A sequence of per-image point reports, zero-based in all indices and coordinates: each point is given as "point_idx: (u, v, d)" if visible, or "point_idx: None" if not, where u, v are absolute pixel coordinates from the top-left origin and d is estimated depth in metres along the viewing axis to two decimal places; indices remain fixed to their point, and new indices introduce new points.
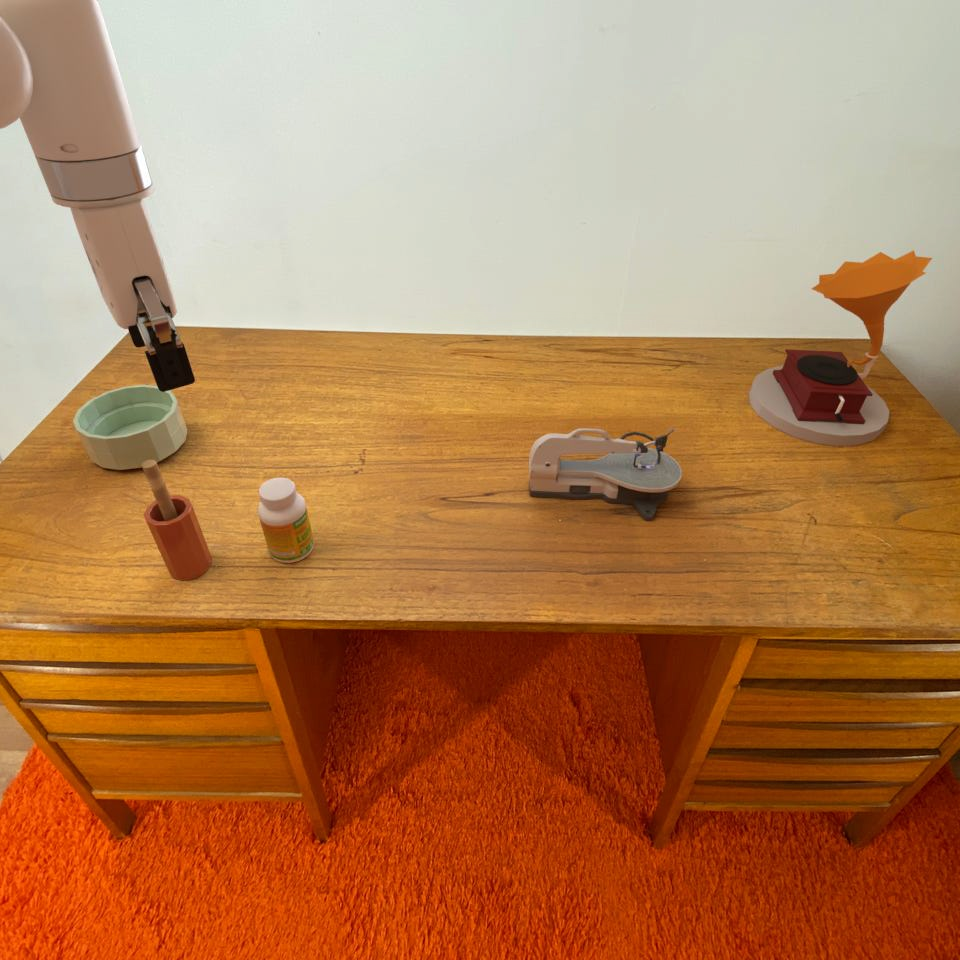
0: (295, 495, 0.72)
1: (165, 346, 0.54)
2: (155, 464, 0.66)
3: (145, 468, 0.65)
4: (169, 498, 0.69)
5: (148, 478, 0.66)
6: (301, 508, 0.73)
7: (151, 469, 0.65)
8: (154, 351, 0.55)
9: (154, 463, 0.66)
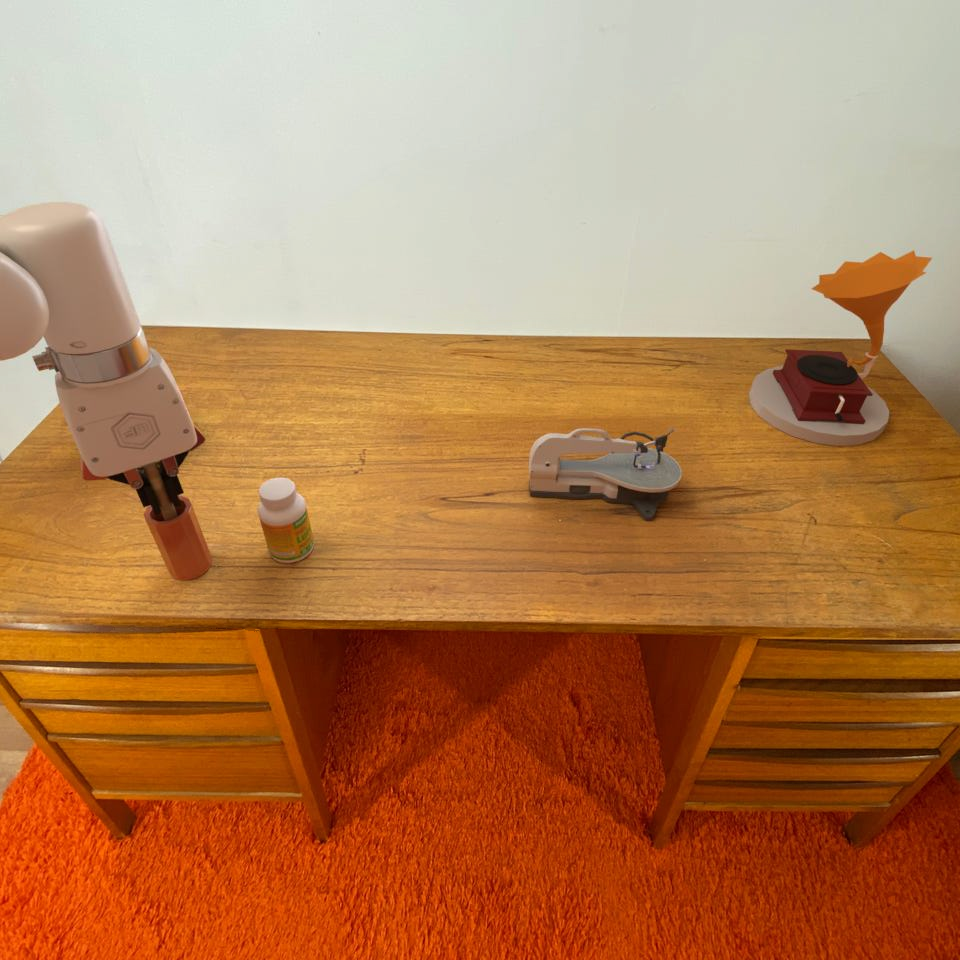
0: (295, 495, 0.72)
1: None
2: (155, 464, 0.66)
3: (145, 468, 0.65)
4: (169, 498, 0.69)
5: (148, 478, 0.66)
6: (301, 508, 0.73)
7: (151, 469, 0.65)
8: None
9: (154, 463, 0.66)
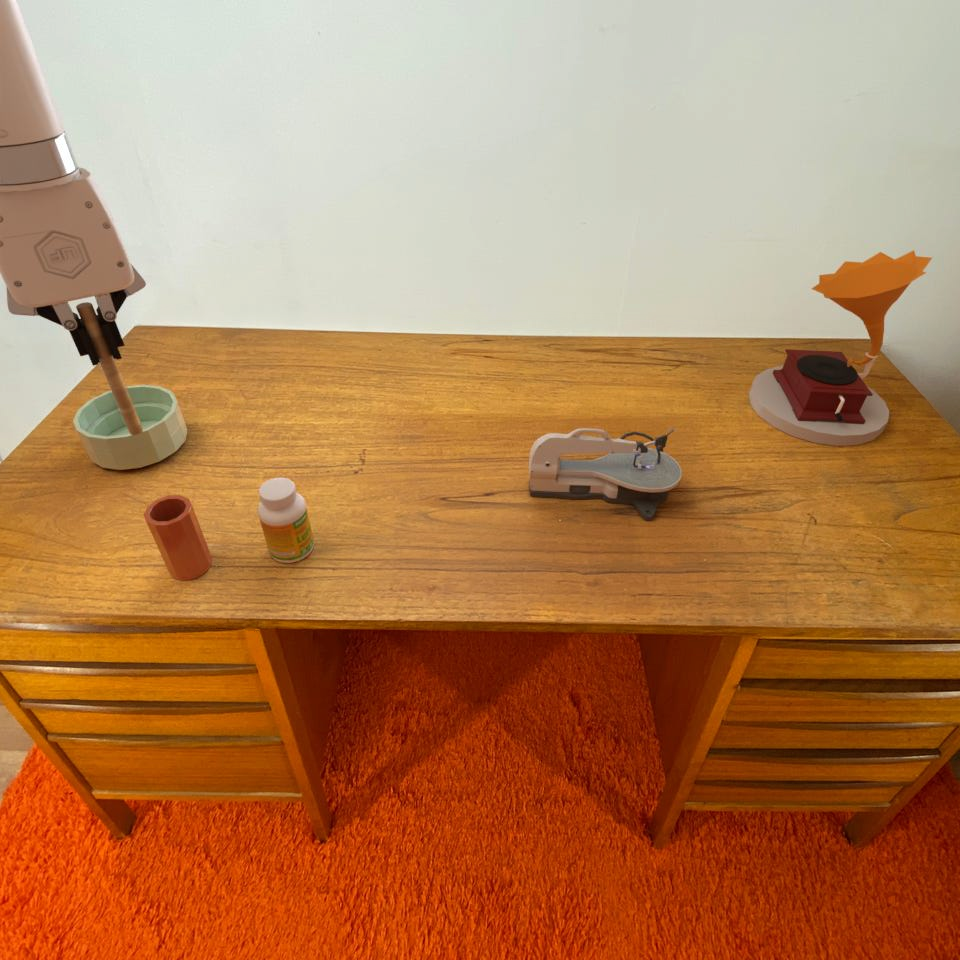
0: (295, 495, 0.72)
1: None
2: (91, 306, 0.61)
3: (79, 309, 0.61)
4: (109, 350, 0.64)
5: (84, 322, 0.62)
6: (301, 508, 0.73)
7: (86, 311, 0.61)
8: (115, 313, 0.62)
9: (89, 305, 0.61)
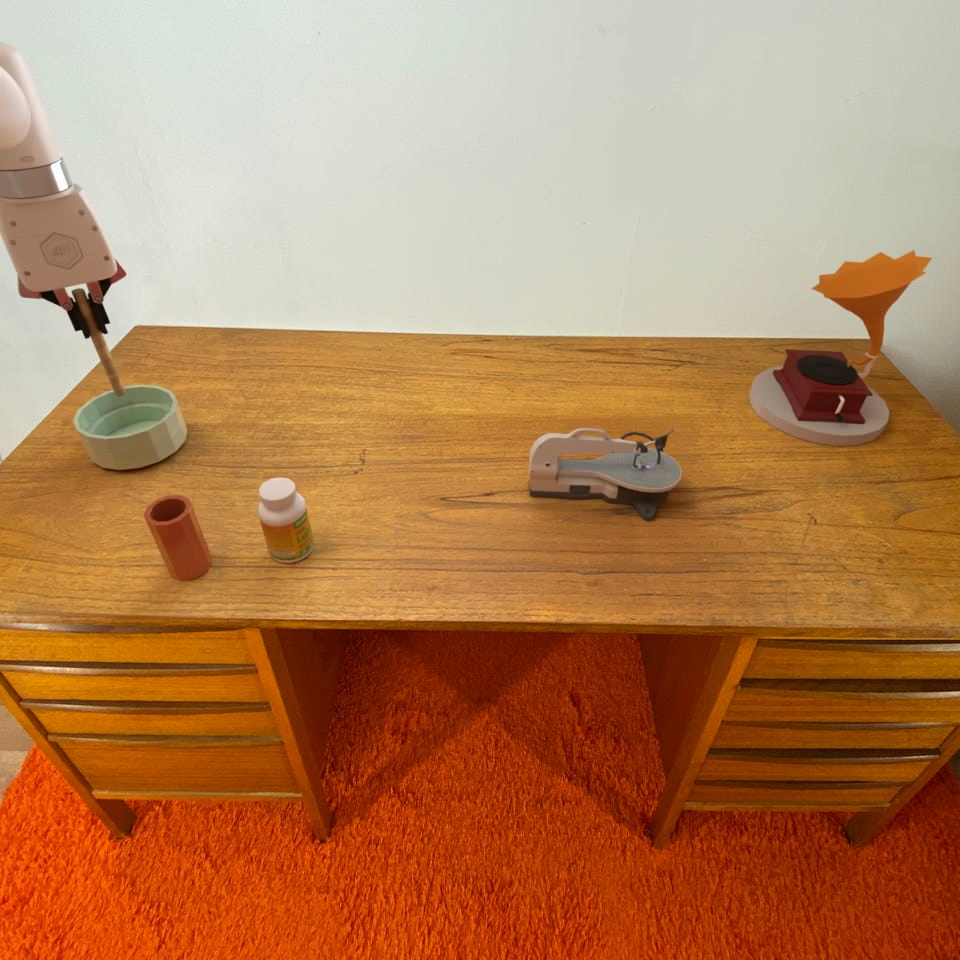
0: (295, 495, 0.72)
1: None
2: (83, 291, 0.78)
3: (74, 294, 0.78)
4: (97, 326, 0.81)
5: (77, 304, 0.79)
6: (301, 508, 0.73)
7: (80, 295, 0.78)
8: (103, 297, 0.79)
9: (82, 290, 0.78)
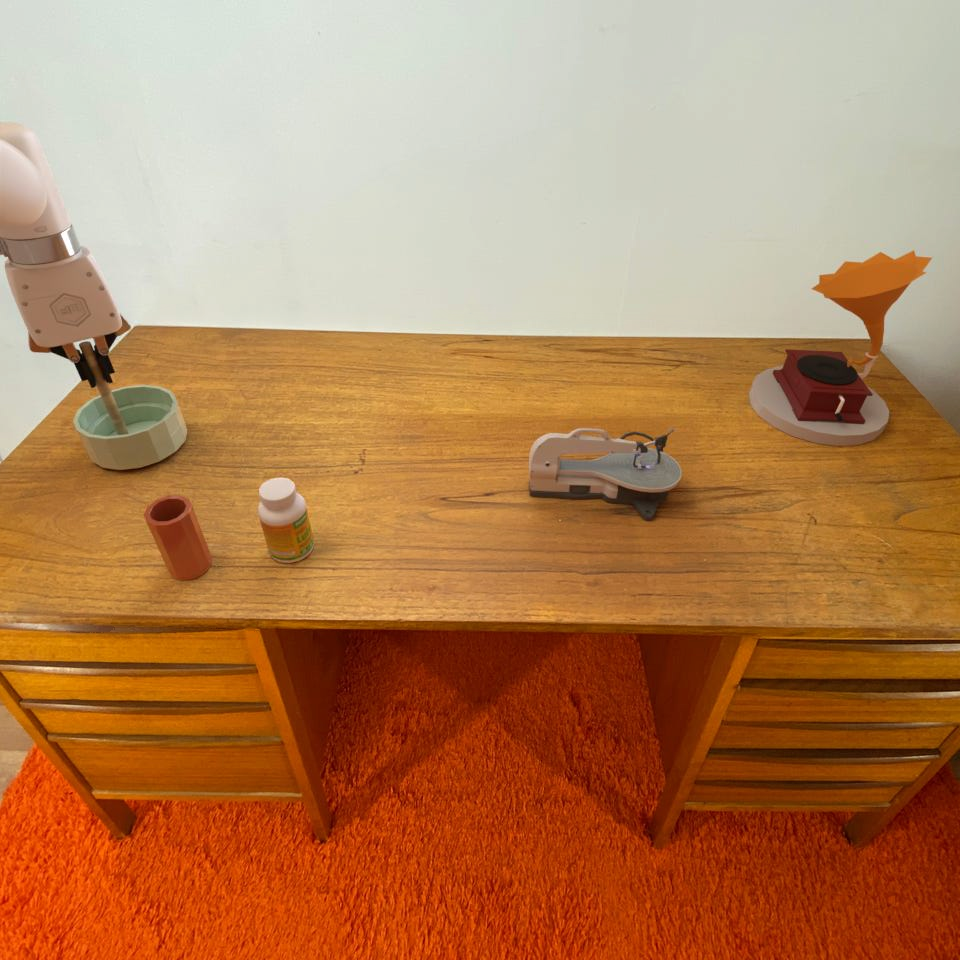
0: (295, 495, 0.72)
1: None
2: (89, 344, 0.83)
3: (81, 347, 0.82)
4: (103, 376, 0.86)
5: (84, 356, 0.83)
6: (301, 508, 0.73)
7: (86, 348, 0.82)
8: (108, 349, 0.84)
9: (88, 343, 0.83)
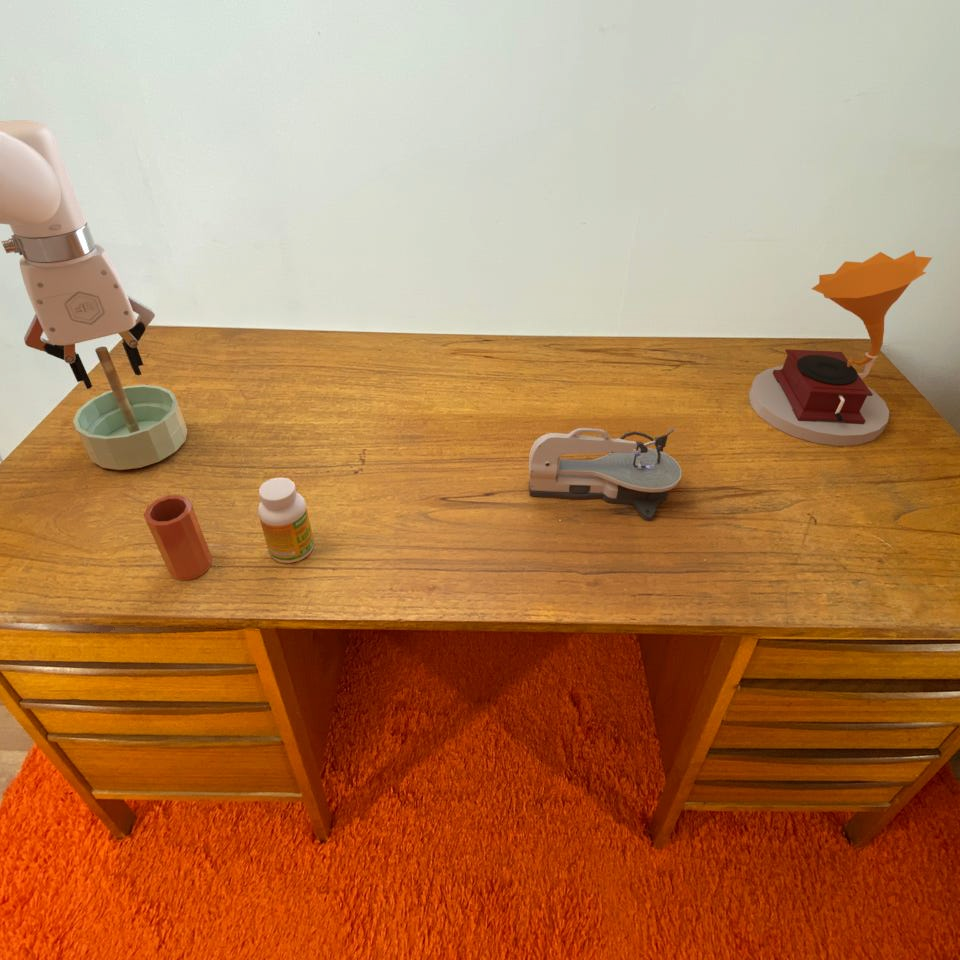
0: (295, 495, 0.72)
1: None
2: (106, 349, 0.83)
3: (97, 352, 0.83)
4: (119, 381, 0.86)
5: (100, 361, 0.84)
6: (301, 508, 0.73)
7: (103, 353, 0.83)
8: (137, 341, 0.84)
9: (105, 348, 0.83)
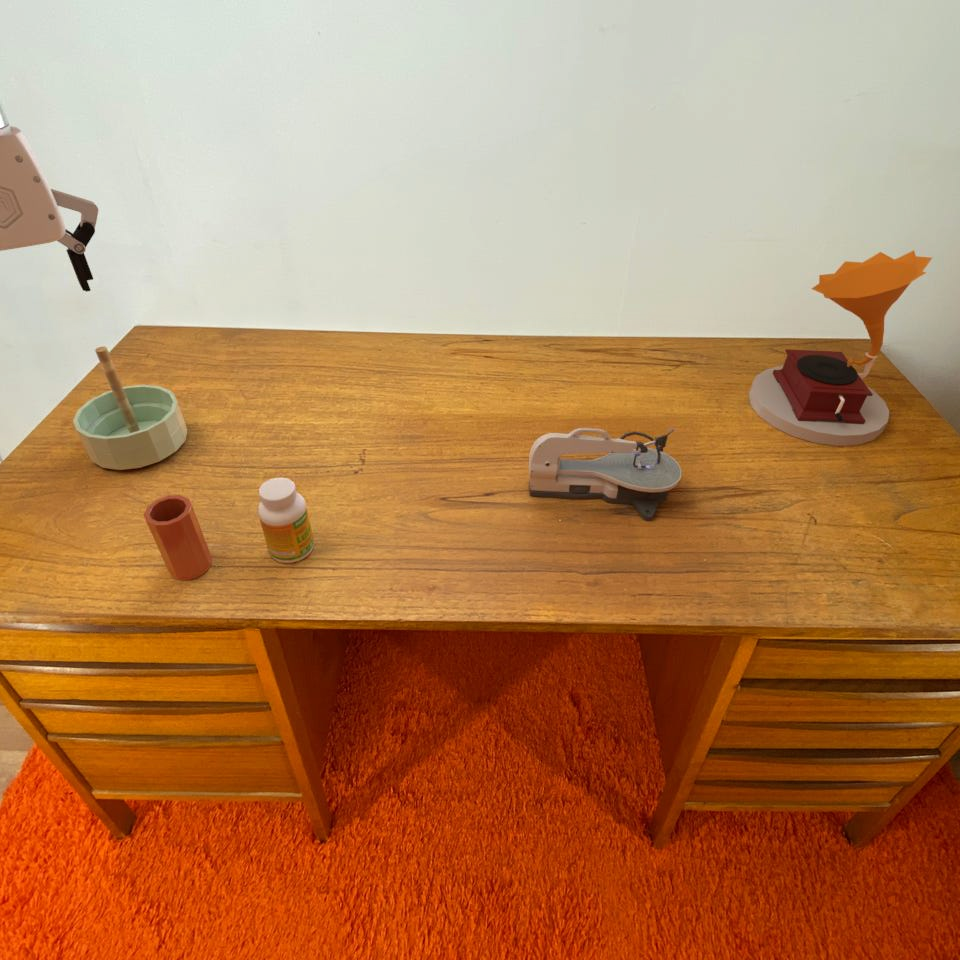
0: (295, 495, 0.72)
1: None
2: (106, 349, 0.83)
3: (97, 352, 0.83)
4: (119, 381, 0.86)
5: (100, 361, 0.84)
6: (301, 508, 0.73)
7: (103, 353, 0.83)
8: (84, 247, 0.68)
9: (105, 348, 0.83)
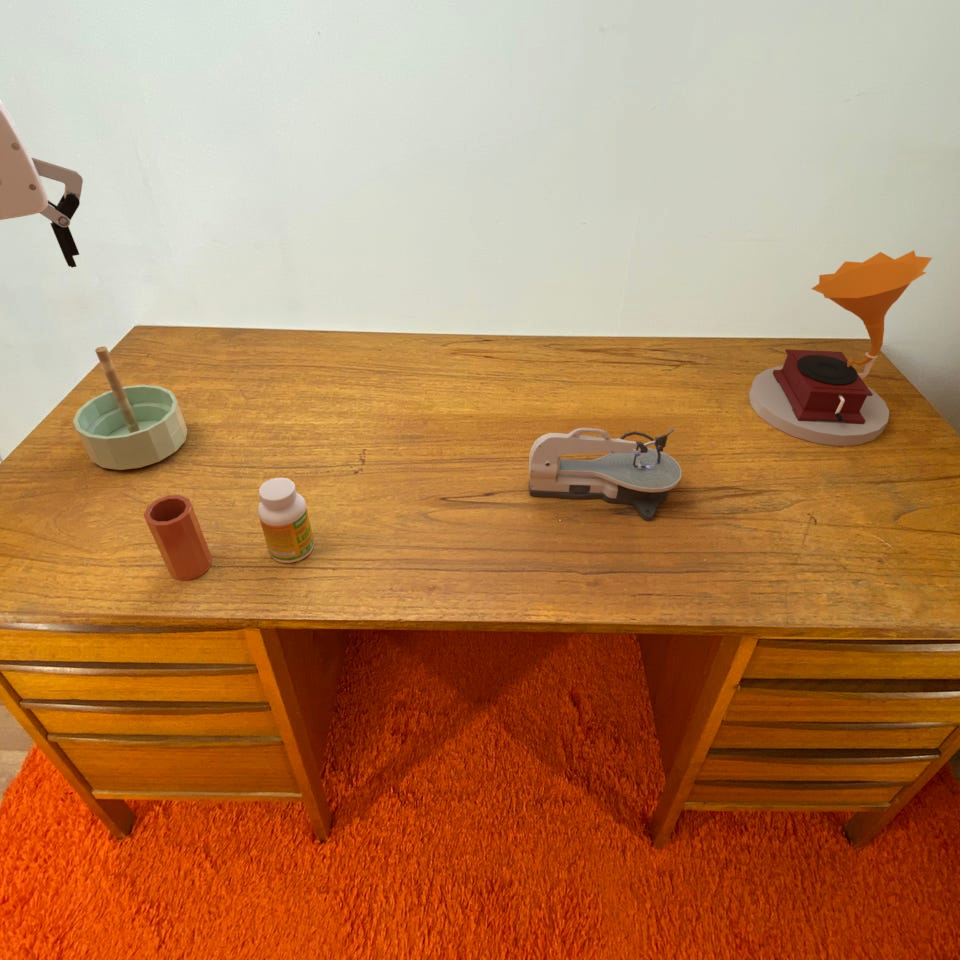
0: (295, 495, 0.72)
1: None
2: (106, 349, 0.83)
3: (97, 352, 0.83)
4: (119, 381, 0.86)
5: (100, 361, 0.84)
6: (301, 508, 0.73)
7: (103, 353, 0.83)
8: (69, 220, 0.65)
9: (105, 348, 0.83)
